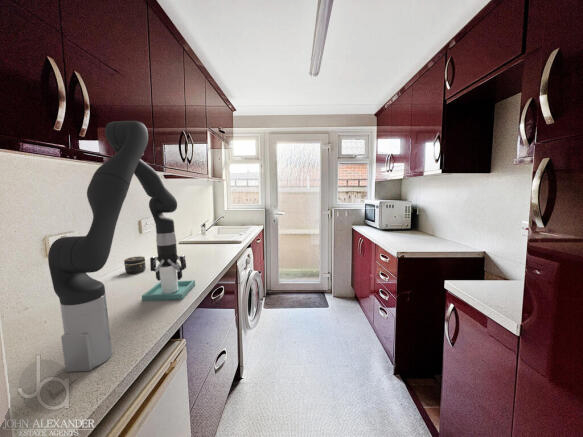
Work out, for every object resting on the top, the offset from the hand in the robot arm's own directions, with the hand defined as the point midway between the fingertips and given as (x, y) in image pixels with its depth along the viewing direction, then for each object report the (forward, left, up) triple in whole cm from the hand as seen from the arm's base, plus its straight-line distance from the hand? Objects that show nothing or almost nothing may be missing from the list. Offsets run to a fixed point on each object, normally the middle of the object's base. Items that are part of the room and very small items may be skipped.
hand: (169, 279), depth 114 cm
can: (0, 0, -5) cm, 5 cm away
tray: (0, 0, -6) cm, 6 cm away
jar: (+33, +33, -6) cm, 47 cm away
